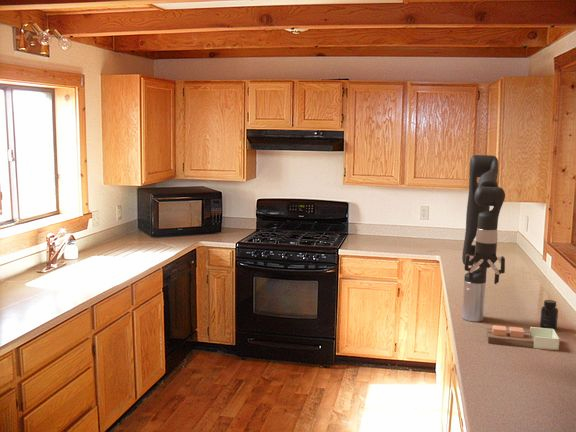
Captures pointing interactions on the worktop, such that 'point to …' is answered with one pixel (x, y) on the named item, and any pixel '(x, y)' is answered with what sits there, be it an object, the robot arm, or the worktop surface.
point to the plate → (510, 339)
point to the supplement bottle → (549, 315)
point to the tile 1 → (499, 330)
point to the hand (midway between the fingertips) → (483, 282)
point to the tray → (544, 338)
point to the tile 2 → (516, 332)
